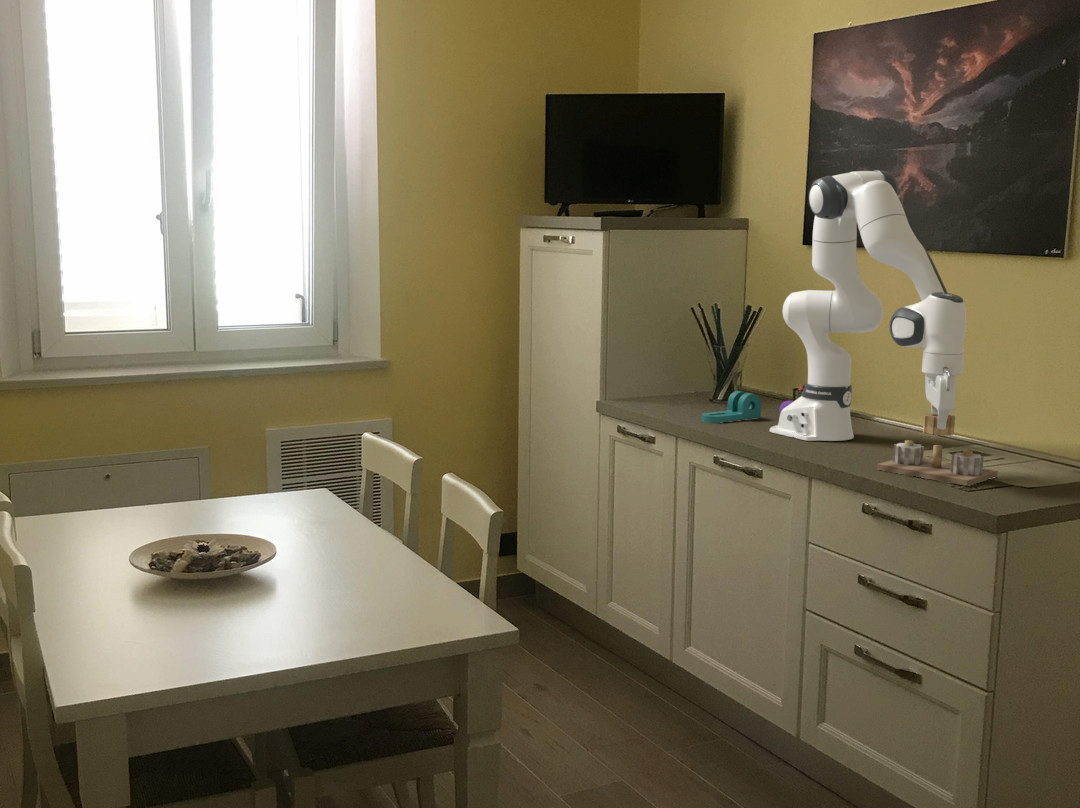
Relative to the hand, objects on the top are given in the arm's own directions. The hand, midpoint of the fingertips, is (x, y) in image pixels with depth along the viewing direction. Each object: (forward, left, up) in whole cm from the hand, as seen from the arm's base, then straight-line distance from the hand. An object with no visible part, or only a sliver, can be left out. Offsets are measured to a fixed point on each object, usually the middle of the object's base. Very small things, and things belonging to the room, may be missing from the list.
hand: (938, 425), depth 253 cm
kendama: (-62, +40, -12) cm, 75 cm away
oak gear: (0, 0, -2) cm, 2 cm away
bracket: (-75, +20, -12) cm, 79 cm away
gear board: (0, +1, -11) cm, 11 cm away
